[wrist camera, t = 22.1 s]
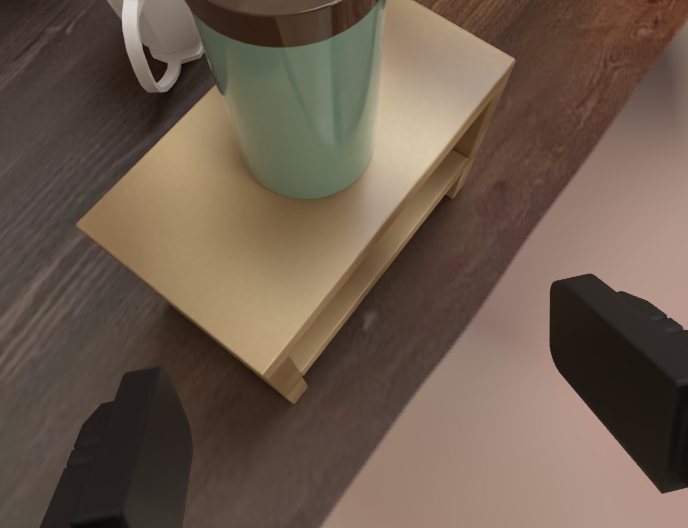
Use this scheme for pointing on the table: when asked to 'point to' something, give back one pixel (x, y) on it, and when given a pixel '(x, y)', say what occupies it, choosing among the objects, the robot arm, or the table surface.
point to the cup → (158, 37)
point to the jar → (297, 86)
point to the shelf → (302, 205)
